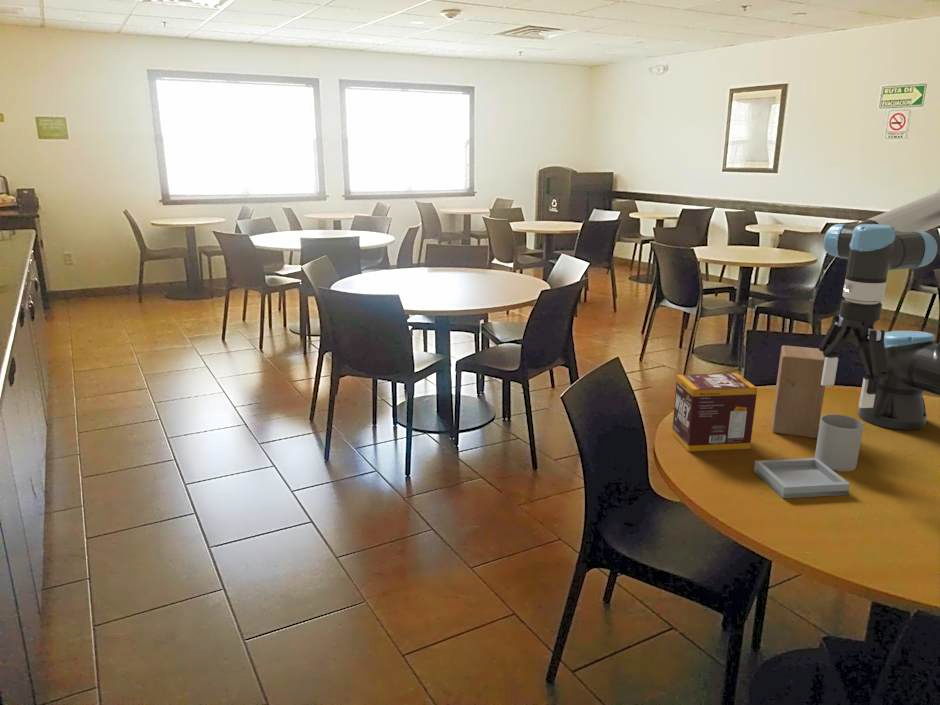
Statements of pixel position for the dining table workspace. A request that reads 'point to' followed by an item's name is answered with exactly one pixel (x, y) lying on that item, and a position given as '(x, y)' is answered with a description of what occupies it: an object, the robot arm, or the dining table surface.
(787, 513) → the dining table surface
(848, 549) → the dining table surface
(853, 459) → the cup
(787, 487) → the tray
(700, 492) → the dining table surface
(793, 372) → the wooden block
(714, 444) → the supplement box
